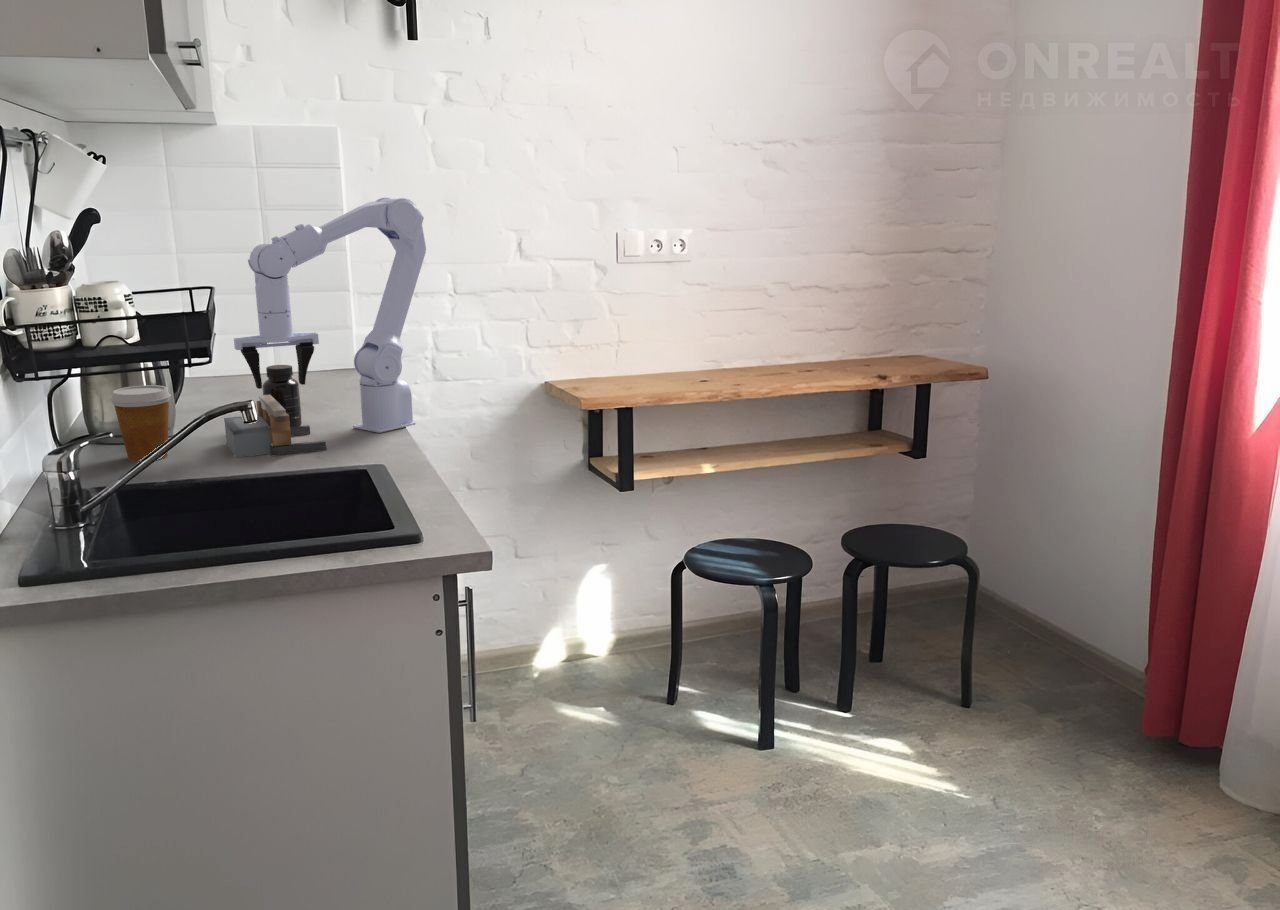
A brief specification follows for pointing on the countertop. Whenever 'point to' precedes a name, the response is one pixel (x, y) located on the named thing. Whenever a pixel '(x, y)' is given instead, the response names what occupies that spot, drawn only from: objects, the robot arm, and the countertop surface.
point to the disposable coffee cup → (142, 418)
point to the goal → (247, 437)
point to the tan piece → (275, 419)
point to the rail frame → (298, 446)
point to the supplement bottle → (284, 391)
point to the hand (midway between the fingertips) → (280, 385)
